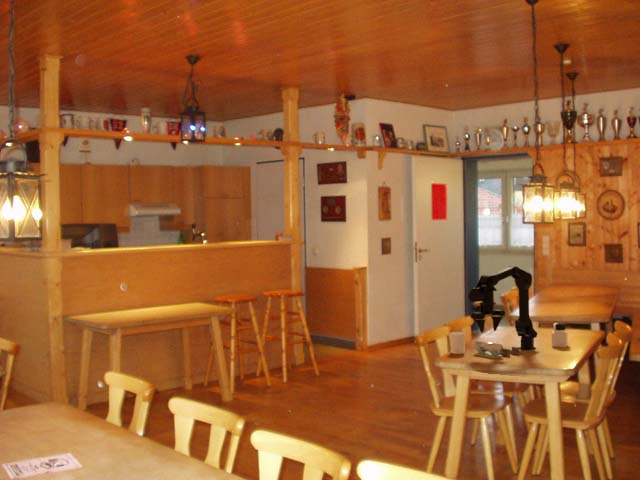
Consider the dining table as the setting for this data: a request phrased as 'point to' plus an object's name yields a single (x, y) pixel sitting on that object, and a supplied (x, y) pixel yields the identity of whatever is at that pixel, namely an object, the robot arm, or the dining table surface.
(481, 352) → the cradle
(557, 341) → the medicine bottle
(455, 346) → the white cup
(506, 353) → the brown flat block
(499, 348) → the brown rounded bar
